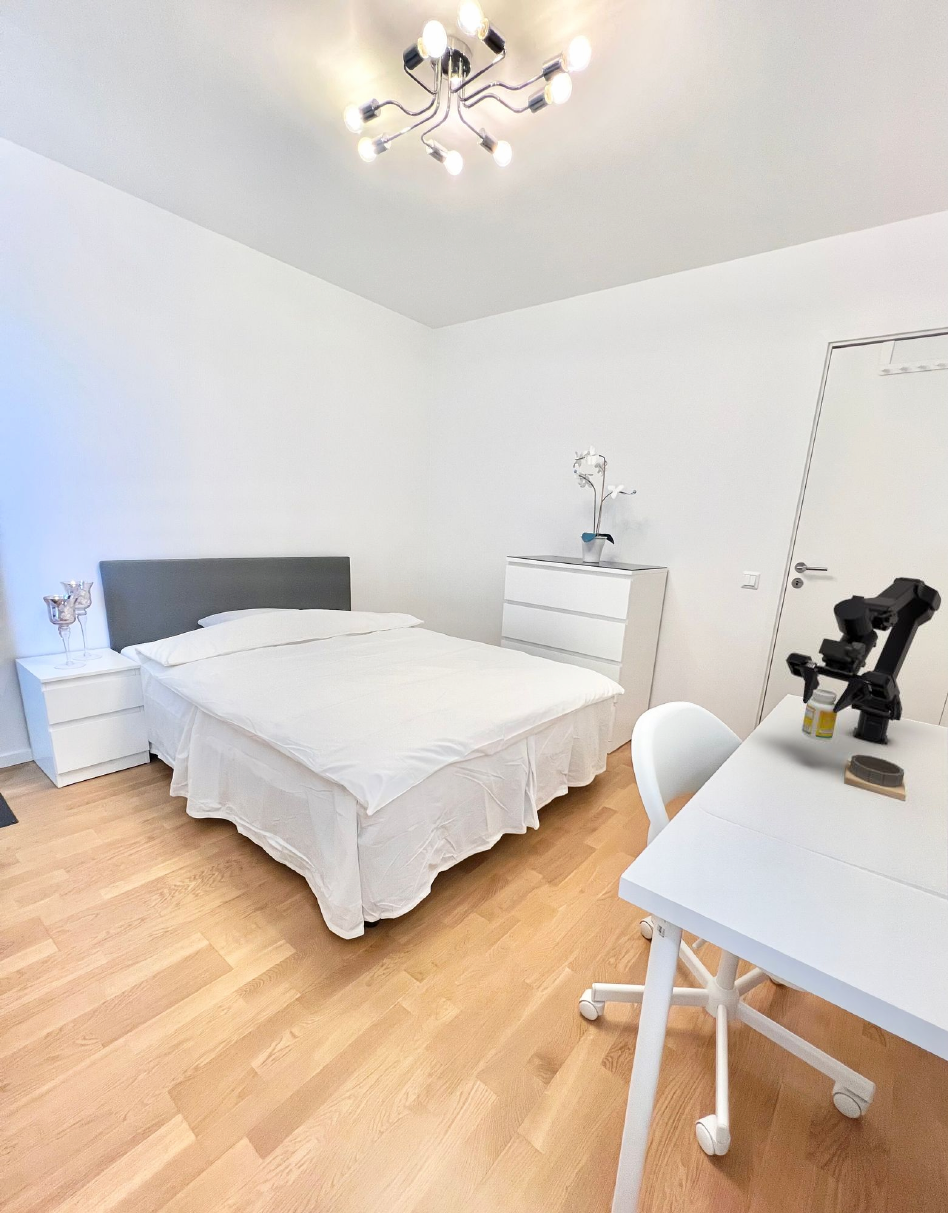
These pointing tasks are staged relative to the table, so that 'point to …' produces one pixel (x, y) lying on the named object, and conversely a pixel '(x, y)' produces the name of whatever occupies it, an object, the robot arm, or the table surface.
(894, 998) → the table surface
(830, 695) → the supplement bottle
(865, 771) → the ring holder
